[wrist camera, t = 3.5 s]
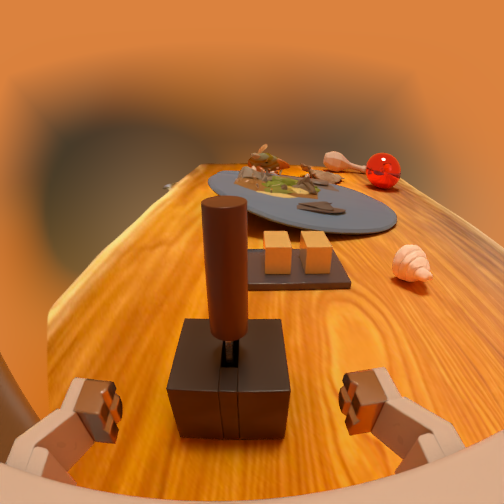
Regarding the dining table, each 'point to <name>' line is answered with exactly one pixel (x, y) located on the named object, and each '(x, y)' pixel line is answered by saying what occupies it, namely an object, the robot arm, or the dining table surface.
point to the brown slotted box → (230, 383)
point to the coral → (322, 175)
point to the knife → (226, 268)
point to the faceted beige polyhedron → (340, 163)
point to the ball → (383, 170)
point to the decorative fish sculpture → (266, 161)
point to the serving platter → (304, 202)
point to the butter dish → (295, 263)
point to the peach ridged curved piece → (411, 264)
